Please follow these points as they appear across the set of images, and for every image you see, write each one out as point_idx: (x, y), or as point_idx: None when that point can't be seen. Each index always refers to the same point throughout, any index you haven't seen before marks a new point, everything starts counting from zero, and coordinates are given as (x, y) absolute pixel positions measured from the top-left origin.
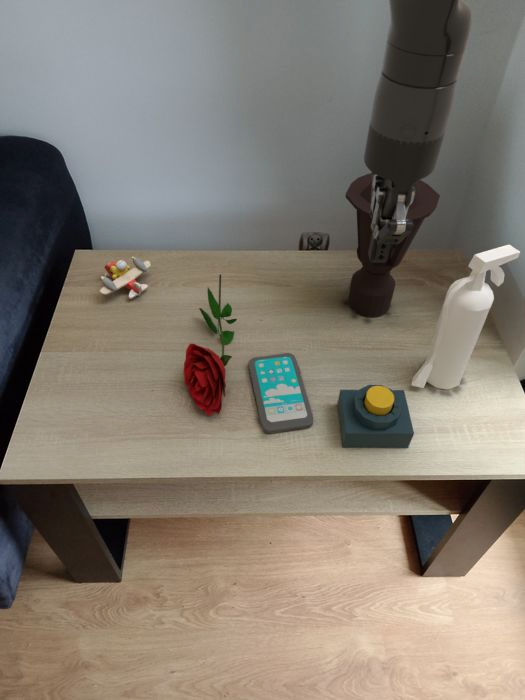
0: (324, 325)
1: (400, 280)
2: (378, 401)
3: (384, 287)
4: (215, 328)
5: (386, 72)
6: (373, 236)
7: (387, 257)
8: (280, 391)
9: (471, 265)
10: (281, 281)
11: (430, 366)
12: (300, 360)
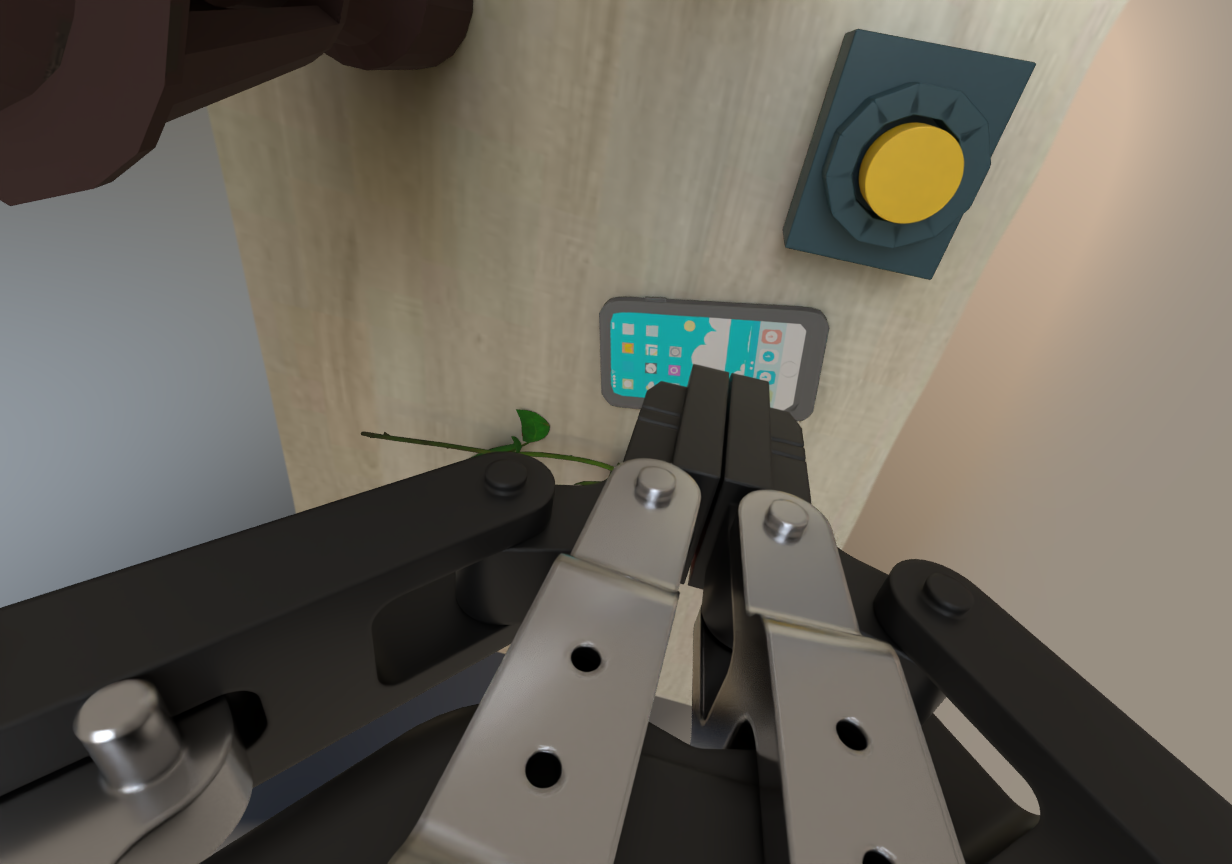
0: (501, 178)
1: None
2: (929, 190)
3: None
4: (510, 448)
5: None
6: (698, 583)
7: (769, 397)
8: (713, 363)
9: None
10: (336, 253)
11: None
12: (618, 281)
